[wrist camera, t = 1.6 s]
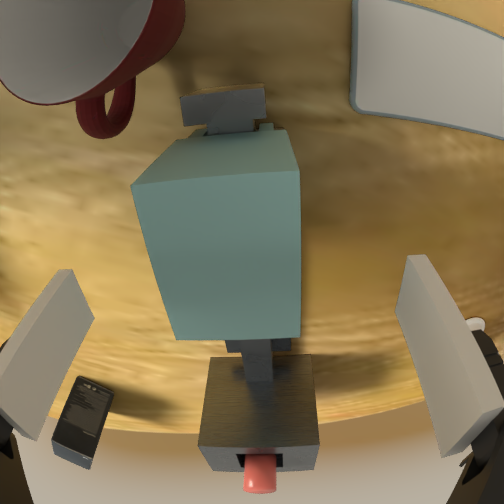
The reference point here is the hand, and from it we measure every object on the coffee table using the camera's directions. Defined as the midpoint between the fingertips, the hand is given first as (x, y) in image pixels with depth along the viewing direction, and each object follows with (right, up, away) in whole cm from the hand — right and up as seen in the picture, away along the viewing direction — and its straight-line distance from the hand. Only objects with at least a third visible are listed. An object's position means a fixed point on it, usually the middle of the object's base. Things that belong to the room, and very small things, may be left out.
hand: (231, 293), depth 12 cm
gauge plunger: (+2, -17, +13) cm, 22 cm away
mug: (-6, +15, +5) cm, 17 cm away
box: (-21, -18, +27) cm, 39 cm away
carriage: (0, +6, +10) cm, 11 cm away
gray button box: (+2, -12, +21) cm, 24 cm away
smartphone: (+14, +14, +5) cm, 21 cm away
